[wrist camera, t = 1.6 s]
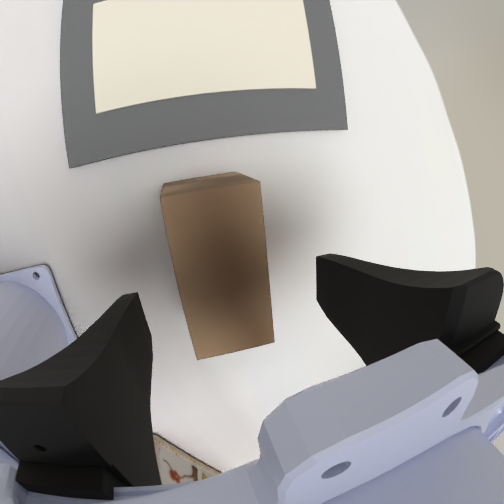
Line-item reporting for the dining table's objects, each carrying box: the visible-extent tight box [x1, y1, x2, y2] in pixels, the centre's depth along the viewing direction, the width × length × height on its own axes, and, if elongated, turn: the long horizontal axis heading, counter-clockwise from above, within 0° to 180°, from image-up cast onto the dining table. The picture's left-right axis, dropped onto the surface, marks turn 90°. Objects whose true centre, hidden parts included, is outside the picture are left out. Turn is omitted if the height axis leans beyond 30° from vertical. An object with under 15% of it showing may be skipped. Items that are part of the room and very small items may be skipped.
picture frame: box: [60, 0, 348, 168], centre depth 13 cm, size 16×12×1 cm
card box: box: [160, 172, 274, 360], centre depth 15 cm, size 4×8×5 cm, turn 6°
